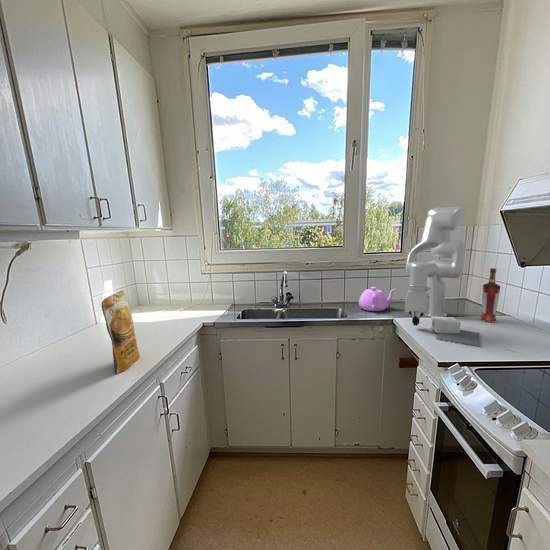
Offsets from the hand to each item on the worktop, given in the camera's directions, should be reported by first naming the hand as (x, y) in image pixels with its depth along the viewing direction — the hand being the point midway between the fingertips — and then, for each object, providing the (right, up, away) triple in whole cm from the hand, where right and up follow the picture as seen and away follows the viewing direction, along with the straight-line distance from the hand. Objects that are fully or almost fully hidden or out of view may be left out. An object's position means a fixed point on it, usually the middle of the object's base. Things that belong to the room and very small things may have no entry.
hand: (415, 324), depth 142 cm
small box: (+6, +1, -4) cm, 7 cm away
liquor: (+44, 0, +10) cm, 45 cm away
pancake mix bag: (-128, -10, -31) cm, 132 cm away
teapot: (-6, +3, +36) cm, 37 cm away
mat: (+14, -4, -11) cm, 18 cm away
